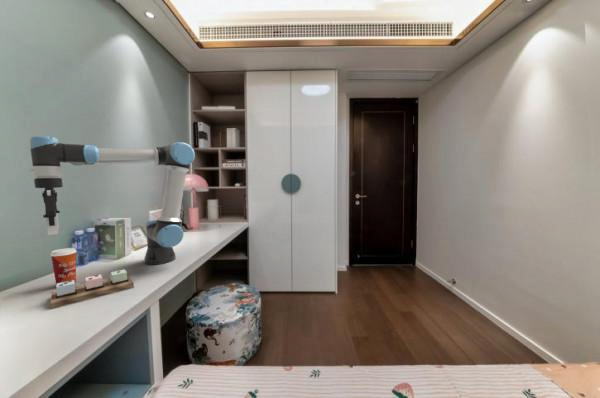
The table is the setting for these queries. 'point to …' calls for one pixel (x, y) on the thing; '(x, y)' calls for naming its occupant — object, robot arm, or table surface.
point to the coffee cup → (64, 264)
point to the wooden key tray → (90, 292)
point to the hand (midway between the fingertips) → (54, 231)
